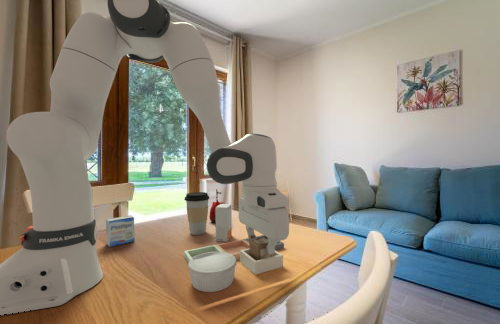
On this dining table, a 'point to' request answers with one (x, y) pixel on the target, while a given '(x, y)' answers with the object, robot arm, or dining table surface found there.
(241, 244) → the tray middle terracotta
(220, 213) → the skincare box
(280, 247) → the tray far charcoal
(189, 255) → the tray near sage
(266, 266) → the cream square open box
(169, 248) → the dining table surface
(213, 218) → the red clay folk toy
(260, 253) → the tan block
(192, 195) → the coffee cup
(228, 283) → the ramekin
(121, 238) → the medicine box
